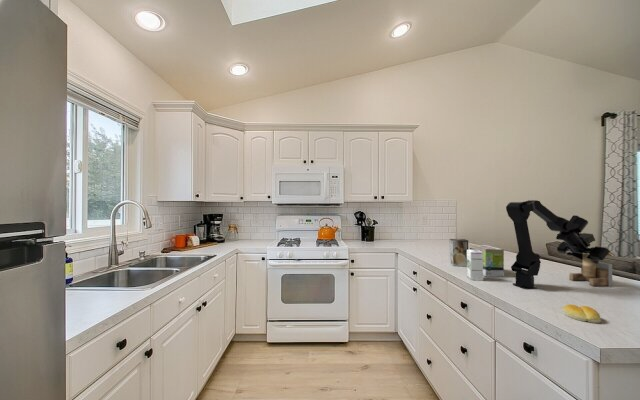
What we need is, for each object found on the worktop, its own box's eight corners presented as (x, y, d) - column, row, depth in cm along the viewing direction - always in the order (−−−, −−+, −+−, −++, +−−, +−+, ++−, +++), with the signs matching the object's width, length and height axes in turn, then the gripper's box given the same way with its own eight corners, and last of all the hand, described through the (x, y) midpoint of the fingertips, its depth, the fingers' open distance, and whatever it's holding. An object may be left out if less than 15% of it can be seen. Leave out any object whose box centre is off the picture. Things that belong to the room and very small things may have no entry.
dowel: (590, 278, 121) (590, 255, 121) (579, 275, 125) (580, 253, 125) (598, 277, 121) (598, 254, 121) (587, 275, 126) (587, 253, 126)
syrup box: (483, 280, 126) (483, 251, 126) (470, 280, 127) (470, 251, 127) (478, 277, 132) (478, 249, 132) (466, 276, 133) (466, 249, 133)
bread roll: (559, 310, 92) (559, 299, 92) (595, 316, 87) (595, 305, 87) (566, 319, 85) (566, 307, 85) (605, 326, 80) (604, 313, 80)
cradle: (593, 285, 118) (593, 270, 118) (569, 279, 127) (569, 265, 128) (608, 285, 119) (608, 270, 119) (583, 278, 129) (583, 265, 129)
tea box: (504, 277, 133) (504, 248, 133) (485, 277, 133) (485, 248, 133) (486, 269, 148) (486, 244, 148) (468, 269, 148) (468, 244, 148)
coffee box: (464, 264, 160) (464, 238, 160) (469, 266, 154) (469, 240, 154) (449, 263, 162) (449, 238, 162) (452, 266, 155) (452, 239, 155)
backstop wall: (608, 285, 119) (608, 264, 119) (583, 279, 129) (583, 259, 129) (612, 285, 119) (612, 264, 119) (587, 279, 129) (587, 259, 129)
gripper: (606, 229, 114) (626, 253, 115) (561, 226, 132) (579, 246, 134) (591, 247, 113) (612, 271, 114) (548, 241, 131) (566, 262, 132)
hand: (591, 262), depth 123 cm, fingers closed on dowel, 4 cm apart
